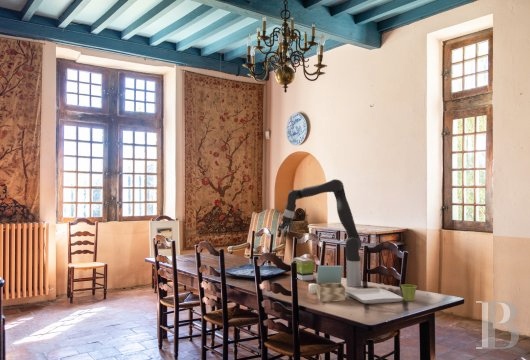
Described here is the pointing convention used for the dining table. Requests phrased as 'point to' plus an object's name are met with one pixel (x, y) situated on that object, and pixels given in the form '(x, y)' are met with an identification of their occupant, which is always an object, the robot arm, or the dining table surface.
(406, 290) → the plant pot
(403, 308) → the dining table surface
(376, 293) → the square plate
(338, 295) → the woven basket
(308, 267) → the tea box
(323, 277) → the box lid
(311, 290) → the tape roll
